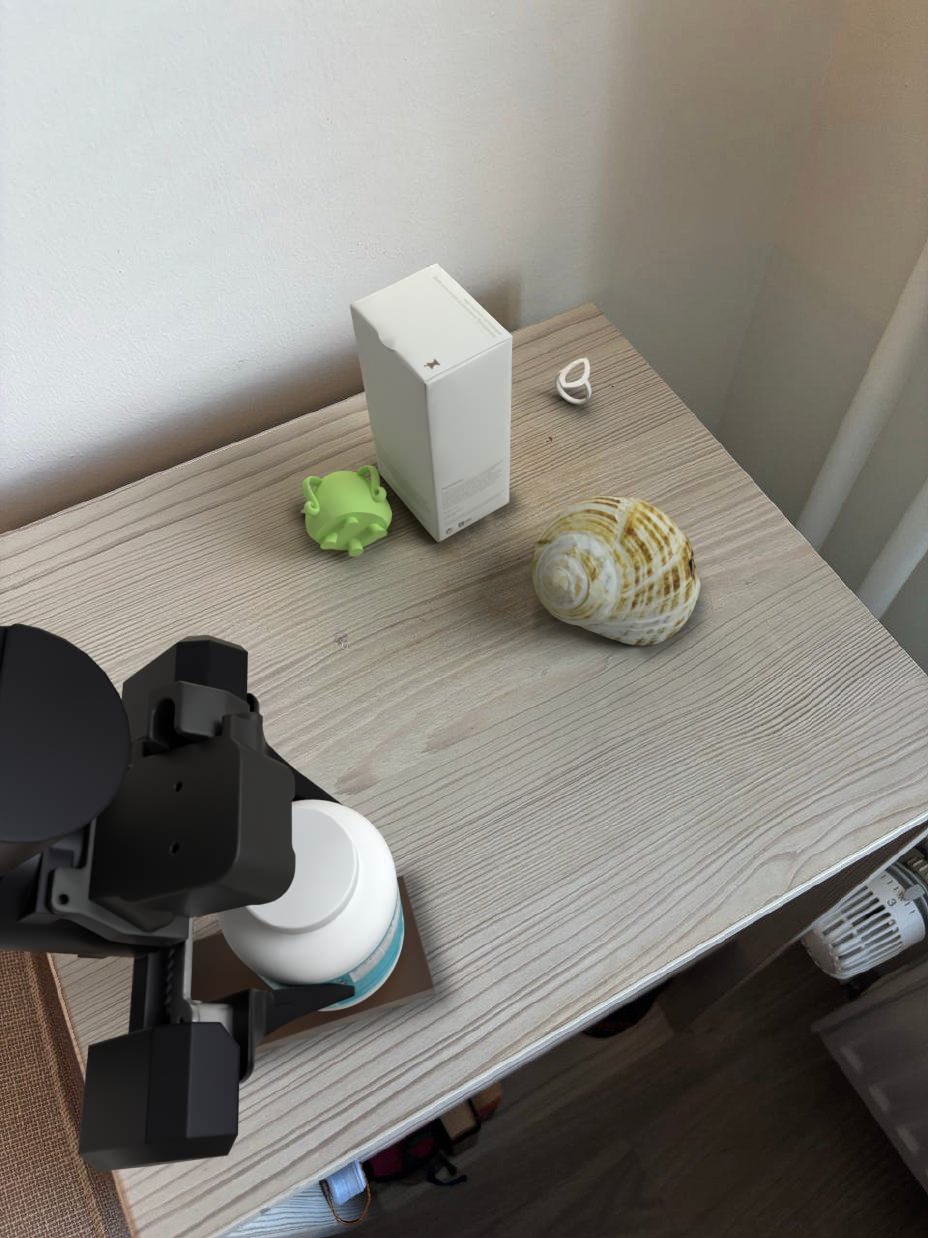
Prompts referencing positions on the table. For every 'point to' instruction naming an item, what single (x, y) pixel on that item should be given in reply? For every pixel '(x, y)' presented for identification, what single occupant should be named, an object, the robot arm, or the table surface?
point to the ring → (581, 381)
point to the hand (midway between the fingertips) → (345, 901)
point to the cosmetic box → (437, 398)
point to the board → (406, 984)
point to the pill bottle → (326, 909)
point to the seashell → (616, 570)
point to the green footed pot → (346, 509)
